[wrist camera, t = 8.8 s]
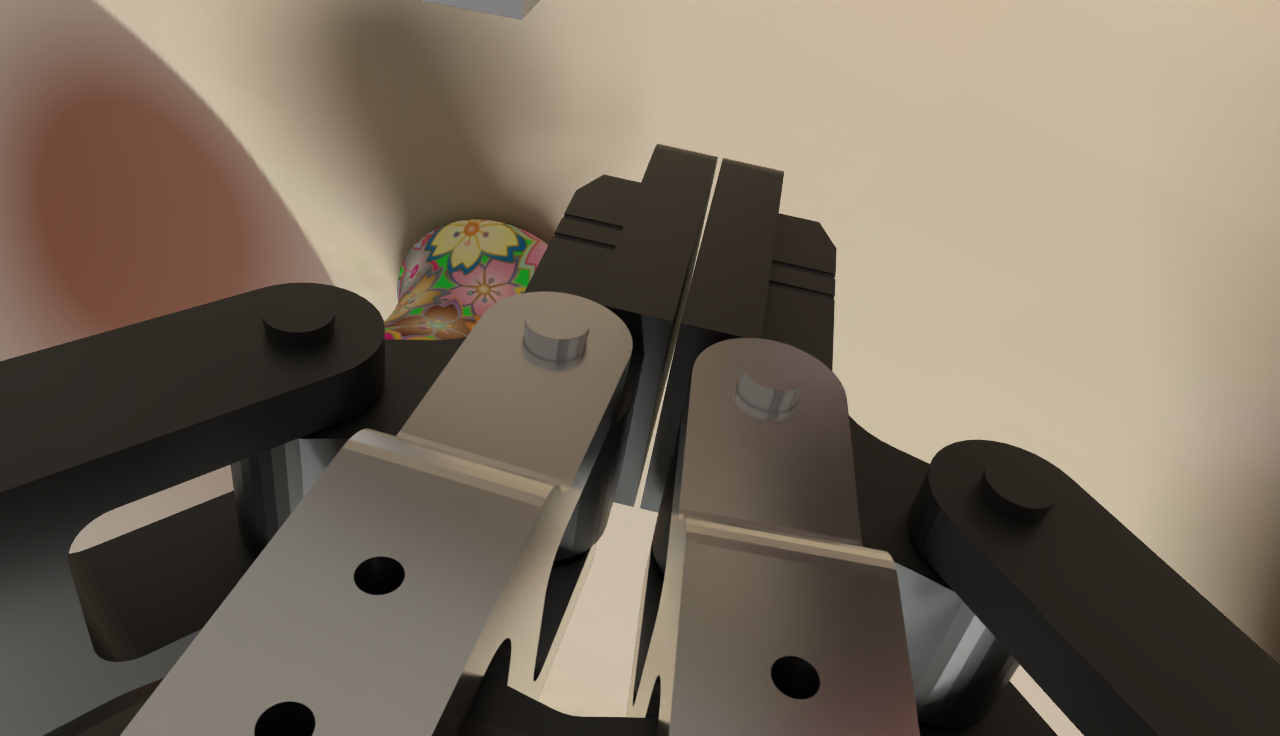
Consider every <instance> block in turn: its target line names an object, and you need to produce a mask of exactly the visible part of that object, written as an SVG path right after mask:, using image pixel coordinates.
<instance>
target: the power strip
mask: <svg viewBox="0 0 1280 736" xmlns="http://www.w3.org/2000/svg"><path fill="white" fill-rule="evenodd" d="M421 1H426V2H431V3H436V4H442V5H447V6H452V7H457V8H462V9H468V10H473V11H478V12H483V13H489V14H494V15H499V16H504V17H509V18H515V19H520V20H522V19H523V18H524V17H525V16H526V15H527V14H528V13H529V11H530V10H531V9H532V8H533V7H534V6H535V5H536V4H537V3H538V2H539V1H540V0H421Z"/></svg>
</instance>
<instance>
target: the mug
mask: <svg viewBox="0 0 1280 736" xmlns="http://www.w3.org/2000/svg"><path fill="white" fill-rule="evenodd" d="M547 247H548V244H546V243H545V242H543V241H542V240H541V239H539V238H537V237H536V236H534V235H532V234H531V233H529V232H527V231H525V230H523V229H520V228H518V227H515V226H512V225H509V224H506V223H502V222H497V221H491V220H479V219H472V220H462V221H456V222H452V223H449V224H446V225H443V226H441V227H438V228H437V229H435V230H433V231H431V232H429V233H428V234H426V235H425V236H423V237H422V238H421V239H420V240H419V241H418V242H417V243H416V244H415V245H414V246H413V247H412V248H411V250H410V251H409V253H408V254H407V256H406V258H405V259H404V261H403V264H402V267H401V269H400V274H399V278H398V286H397V297H398V304H397V306H396V308H395V310H394V311H393V313H392V314H391V315H390V316H389V317H388V318H387V319H386V320H385V321H384V326H385V339H400V340H448V339H456V338H462V337H467V336H468V335H469V333H470V332H471V331H472V329H473V328H474V326H475V325H476V324H477V322H478V321H479V319H480V318H481V316H482V315H483V314H484V313H485V312H486V311H487V310H488V308H490V307H491V306H493V305H494V304H495V303H497V302H499V301H501V300H503V299H505V298H508V297H511V296H514V295H518V294H523V293H524V292H525V290H526V288H527V286H528V284H529V282H530V280H531V278H532V276H533V274H534V272H535V270H536V268H537V266H538V264H539V262H540V260H541V258H542V257H543V255H544V253H545V251H546V249H547Z"/></svg>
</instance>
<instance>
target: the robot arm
mask: <svg viewBox="0 0 1280 736" xmlns="http://www.w3.org/2000/svg"><path fill="white" fill-rule="evenodd" d="M717 159H718V157H715V156H710V155H706V154H701V153H697V152H692V151H688V150H683V149H679V148H674V147H670V146H665V145H661V144H657V145H656V147H655V149H654V152H653V154H652V157H651V159H650V162H649V164H648V167H647V170H646V172H645V175H644V177H643V180H642V182H641V183H639V182H635V181H630V180H626V179H621V178H617V177H612V176H608V175H602V176H601V177H599V178H597V179H595V180H594V181H592V182H590V183H588V184H587V185H585V186H583V187H581V188H580V189H578V190H576V192H575V194H574V196H573V198H572V200H571V202H570V204H569V206H568V208H567V210H566V212H565V214H564V218H562V219H561V221H560V223H559V225H558V227H557V229H556V231H555V235H554V237H552V239H551V241H550V243H549V245H548V247H547V249H546V251H545V253H544V255H543V257H542V258H541V260H540V262H539V264H538V266H537V268H536V270H535V272H534V274H533V276H532V278H531V280H530V282H529V284H528V286H527V288H526V290H525V292H524V293H523V294H518V295H514V296H511V297H508V298H505V299H503V300H501V301H499V302H497V303H495V304H494V305H493V306H491V307H490V308H488V310H487V311H486V312H485V313H484V314H483V315H482V316H481V318H480V319H479V321H478V322H477V324H476V325H475V326H474V328H473V329H472V331H471V332H470V333H469V335H468V336H467V337H462V338H456V339H448V340H400V339H385V326H384V320H383V318H382V316H381V314H380V312H379V311H378V310H377V309H376V308H375V306H374V305H372V304H371V303H370V302H369V301H367V300H366V299H365V298H363V297H361V296H359V295H357V294H356V293H353V292H351V291H348V290H346V289H342V288H339V287H335V286H331V285H324V284H317V283H288V284H280V285H274V286H269V287H265V288H261V289H257V290H254V291H250V292H247V293H243V294H240V295H236V296H232V297H229V298H225V299H221V300H218V301H214V302H211V303H208V304H204V305H200V306H197V307H193V308H190V309H186V310H183V311H179V312H175V313H172V314H168V315H164V316H161V317H157V318H154V319H150V320H147V321H144V322H139V323H136V324H132V325H129V326H125V327H122V328H118V329H115V330H111V331H107V332H104V333H100V334H97V335H93V336H90V337H86V338H82V339H79V340H75V341H72V342H68V343H65V344H61V345H58V346H54V347H51V348H47V349H43V350H40V351H36V352H33V353H29V354H25V355H22V356H19V357H15V358H11V359H8V360H4V361H0V736H1058V735H1057V734H1056V733H1055V732H1054V731H1053V730H1052V729H1051V728H1050V726H1049V725H1048V724H1047V723H1046V722H1045V721H1044V720H1043V718H1042V717H1041V716H1040V715H1039V714H1038V713H1037V712H1036V711H1035V709H1034V708H1033V707H1032V706H1031V705H1030V704H1029V703H1028V701H1027V700H1026V699H1025V698H1024V697H1023V696H1022V695H1021V693H1020V692H1019V691H1018V690H1017V689H1016V688H1015V687H1014V686H1013V684H1012V683H1011V682H1010V681H1009V680H1010V679H1011V677H1012V675H1013V674H1014V672H1015V671H1016V669H1017V668H1018V666H1019V664H1020V665H1021V666H1022V667H1023V668H1024V670H1025V671H1026V672H1027V673H1028V674H1029V675H1030V676H1031V677H1032V678H1033V679H1034V681H1035V682H1036V683H1037V684H1038V685H1039V686H1040V687H1041V688H1042V689H1043V691H1044V692H1045V693H1046V694H1047V695H1048V696H1049V697H1050V698H1051V699H1052V701H1053V702H1054V703H1055V704H1056V705H1057V706H1058V707H1059V708H1060V709H1061V711H1062V712H1063V713H1064V714H1065V715H1066V716H1067V717H1068V718H1069V719H1070V721H1071V722H1072V723H1073V724H1074V725H1075V726H1076V727H1077V728H1078V729H1079V730H1080V732H1081V733H1082V734H1083V735H1084V736H1280V665H1279V664H1278V663H1277V662H1276V661H1275V660H1274V659H1273V658H1271V657H1270V656H1269V655H1268V654H1267V653H1266V652H1265V651H1264V650H1262V649H1261V648H1260V647H1259V646H1258V645H1257V644H1256V643H1255V642H1254V641H1252V640H1251V639H1250V638H1249V637H1248V636H1247V635H1246V634H1245V633H1243V632H1242V631H1241V630H1240V629H1239V628H1238V627H1237V626H1236V625H1235V624H1233V623H1232V622H1231V621H1230V620H1229V619H1228V618H1227V617H1226V616H1224V615H1223V614H1222V613H1221V612H1220V611H1219V610H1218V609H1217V608H1216V607H1214V606H1213V605H1212V604H1211V603H1210V602H1209V601H1208V600H1207V599H1205V598H1204V597H1203V596H1202V595H1201V594H1200V593H1199V592H1198V591H1197V590H1195V589H1194V588H1193V587H1192V586H1191V585H1190V584H1189V583H1188V582H1186V581H1185V580H1184V579H1183V578H1182V577H1181V576H1180V575H1179V574H1178V573H1176V572H1175V571H1174V570H1173V569H1172V568H1171V567H1170V566H1169V565H1167V564H1166V563H1165V562H1164V561H1163V560H1162V559H1161V558H1160V557H1159V556H1157V555H1156V554H1155V553H1154V552H1153V551H1152V550H1151V549H1150V548H1148V547H1147V546H1146V545H1145V544H1144V543H1143V542H1142V541H1141V540H1140V539H1138V538H1137V537H1136V536H1135V535H1134V534H1133V533H1132V532H1131V531H1129V530H1128V529H1127V528H1126V527H1125V526H1124V525H1123V524H1122V523H1121V522H1119V521H1118V520H1117V519H1116V518H1115V517H1114V516H1113V515H1112V514H1110V513H1109V512H1108V511H1107V510H1106V509H1105V508H1104V507H1103V506H1102V505H1100V504H1099V503H1098V502H1097V501H1096V500H1095V499H1094V498H1093V497H1091V496H1090V495H1089V494H1088V493H1087V492H1086V491H1085V490H1084V489H1083V488H1081V487H1080V486H1079V485H1078V484H1077V483H1076V482H1075V481H1074V480H1072V479H1071V478H1070V477H1069V476H1068V475H1066V474H1065V473H1064V472H1063V471H1061V470H1060V469H1059V468H1057V467H1056V466H1054V465H1053V464H1051V463H1050V462H1048V461H1047V460H1045V459H1043V458H1041V457H1039V456H1037V455H1035V454H1033V453H1031V452H1028V451H1026V450H1024V449H1021V448H1018V447H1015V446H1012V445H1009V444H1005V443H1000V442H995V441H988V440H966V441H961V442H956V443H953V444H951V445H948V446H946V447H944V448H943V449H942V450H940V451H939V452H938V453H937V454H936V455H935V456H934V458H933V459H932V461H931V463H930V464H928V463H926V462H924V461H922V460H920V459H918V458H916V457H913V456H911V455H909V454H907V453H905V452H903V451H901V450H898V449H896V448H894V447H892V446H890V445H888V444H886V443H885V442H883V441H881V440H879V439H878V438H876V437H874V436H873V435H871V434H870V433H868V432H867V431H866V430H864V429H863V428H862V427H861V426H859V425H858V424H857V423H856V422H855V421H854V420H853V419H852V418H851V417H850V416H849V415H848V405H847V398H846V393H845V390H844V388H843V386H842V384H841V382H840V381H839V379H838V378H837V377H836V375H835V374H834V373H833V372H832V361H833V331H834V302H835V300H834V296H835V279H834V278H835V272H836V247H835V246H834V244H833V243H832V241H831V240H830V238H829V237H828V235H827V234H826V232H825V231H824V229H823V228H822V226H821V224H820V223H819V222H815V221H811V220H806V219H802V218H797V217H793V216H788V215H784V214H779V206H780V198H781V191H782V184H783V176H784V171H779V170H775V169H770V168H766V167H761V166H757V165H752V164H748V163H743V162H739V161H734V160H729V159H725V158H723V161H722V164H721V168H720V172H719V176H718V180H717V184H716V188H715V192H714V195H713V199H712V203H711V207H710V211H709V215H708V219H707V222H706V226H705V230H704V234H703V238H702V242H701V246H700V250H699V253H698V257H697V261H696V256H697V251H698V247H699V242H700V238H701V233H702V229H703V224H704V220H705V215H706V210H707V206H708V201H709V197H710V192H711V188H712V183H713V178H714V174H715V169H716V164H717ZM695 261H696V265H695ZM694 265H695V269H694ZM693 270H694V273H693ZM692 274H693V277H692ZM691 279H692V280H691ZM690 283H691V284H690ZM675 345H676V346H675ZM674 349H675V351H674ZM673 352H674V355H673ZM672 356H673V360H672ZM671 360H672V364H671ZM670 364H671V369H670V374H669V378H668V383H667V387H666V392H665V396H664V401H663V406H662V410H661V415H660V419H659V424H658V429H657V433H656V438H655V442H654V447H653V452H652V456H651V461H650V465H649V470H648V474H647V479H646V484H645V488H644V493H643V497H642V502H641V507H640V508H642V509H646V510H650V511H654V512H659V513H658V517H657V522H656V526H655V531H654V535H653V540H652V544H651V549H650V553H649V557H648V561H647V566H646V570H645V574H644V579H643V587H642V595H641V603H640V611H639V619H638V627H637V635H636V643H635V650H634V658H633V666H632V674H631V682H630V690H629V698H628V706H627V714H626V717H579V716H571V715H567V714H563V713H561V712H558V711H556V710H554V709H552V708H550V707H548V706H546V705H544V704H542V703H540V702H538V699H539V697H540V694H541V692H542V689H543V686H544V684H545V681H546V679H547V676H548V674H549V671H550V669H551V666H552V664H553V661H554V659H555V656H556V654H557V651H558V649H559V646H560V643H561V641H562V638H563V636H564V633H565V631H566V628H567V626H568V623H569V621H570V618H571V616H572V613H573V611H574V608H575V606H576V603H577V601H578V598H579V595H580V593H581V590H582V588H583V585H584V583H585V580H586V578H587V575H588V573H589V570H590V568H591V565H592V562H593V558H594V553H595V548H596V543H597V541H598V540H599V538H600V537H601V536H602V534H603V532H604V530H605V527H606V525H607V521H608V518H609V514H610V511H611V507H612V504H613V502H615V503H619V504H624V505H628V506H632V507H634V504H635V500H636V496H637V492H638V488H639V484H640V480H641V476H642V473H643V469H644V465H645V461H646V457H647V453H648V449H649V445H650V442H651V438H652V434H653V430H654V426H655V422H656V418H657V414H658V411H659V407H660V403H661V399H662V395H663V391H664V387H665V383H666V380H667V376H668V372H669V368H670ZM230 464H231V471H232V479H233V487H234V491H232V492H229V493H227V494H225V495H222V496H219V497H217V498H214V499H212V500H209V501H207V502H204V503H202V504H199V505H197V506H194V507H191V508H189V509H187V510H184V511H182V512H179V513H176V514H174V515H172V516H169V517H166V518H164V519H162V520H159V521H157V522H154V523H151V524H149V525H146V526H144V527H141V528H139V529H136V530H134V531H132V532H129V533H126V534H124V535H121V536H119V537H116V538H114V539H111V540H109V541H107V542H104V543H102V544H99V545H96V546H94V547H91V548H89V549H86V550H83V551H80V552H76V553H72V554H69V550H70V547H71V544H72V543H73V541H74V539H75V537H76V536H77V535H78V534H79V532H80V531H81V530H82V529H83V528H84V527H85V526H86V525H87V524H89V523H90V522H91V521H93V520H94V519H95V518H97V517H99V516H100V515H102V514H104V513H106V512H108V511H110V510H113V509H115V508H117V507H120V506H123V505H125V504H128V503H131V502H133V501H136V500H139V499H141V498H144V497H146V496H149V495H152V494H154V493H157V492H159V491H162V490H165V489H167V488H170V487H173V486H175V485H178V484H181V483H183V482H186V481H188V480H191V479H194V478H196V477H199V476H201V475H204V474H207V473H209V472H211V471H214V470H217V469H220V468H222V467H225V466H227V465H230Z"/></svg>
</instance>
